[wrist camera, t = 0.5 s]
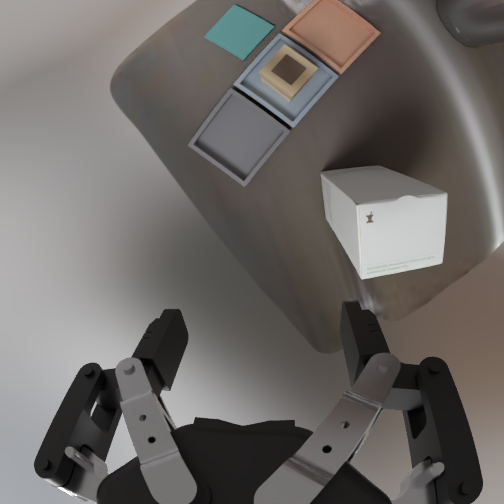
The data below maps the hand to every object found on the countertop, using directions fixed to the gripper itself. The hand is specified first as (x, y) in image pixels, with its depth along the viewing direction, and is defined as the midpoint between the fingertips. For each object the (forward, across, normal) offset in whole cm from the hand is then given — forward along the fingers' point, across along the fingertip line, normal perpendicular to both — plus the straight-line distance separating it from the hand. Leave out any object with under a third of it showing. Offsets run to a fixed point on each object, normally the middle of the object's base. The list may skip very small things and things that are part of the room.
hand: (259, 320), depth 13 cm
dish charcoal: (+23, +3, -8) cm, 24 cm away
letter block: (+23, -3, -14) cm, 27 cm away
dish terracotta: (+23, -10, -21) cm, 33 cm away
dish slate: (+23, -3, -14) cm, 27 cm away
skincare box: (+23, -11, 0) cm, 26 cm away
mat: (+23, +1, -22) cm, 32 cm away
